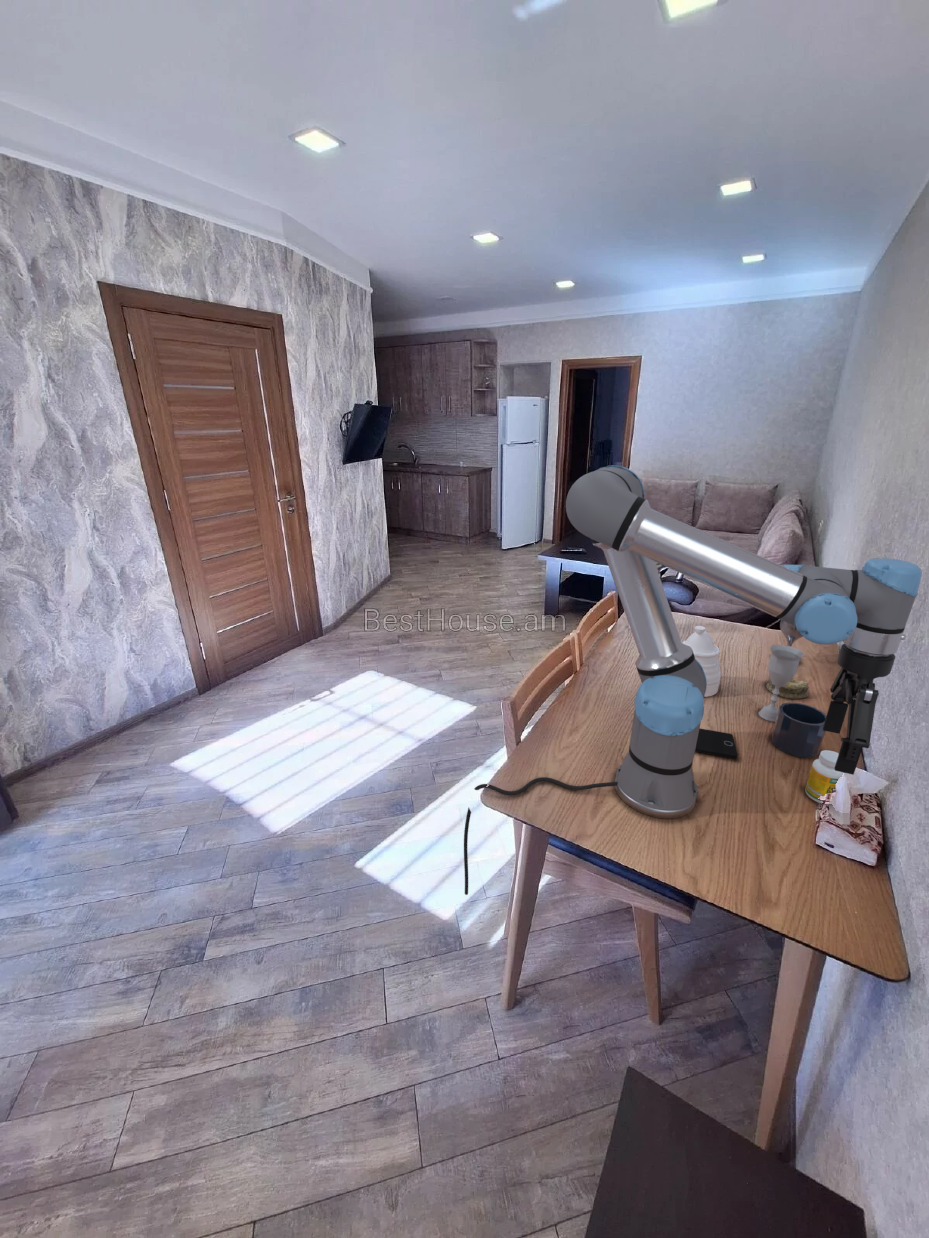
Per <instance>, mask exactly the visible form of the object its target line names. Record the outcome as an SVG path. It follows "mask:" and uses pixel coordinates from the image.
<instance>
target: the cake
mask: <svg viewBox="0 0 929 1238" xmlns="http://www.w3.org/2000/svg"><path fill="white" fill-rule="evenodd" d="M765 687H766V689H767V690H768V691H769V692H770V693H772V694H773V692H772V691H774V689H775V685H773V684H772V682H771V678H770V677H769V680H768V682H767V683H766V685H765ZM809 688H810V687H809V683H808V682H807V681H804V680H796V678H794V677H793V678H792V679H791V680H790V681H789V682H788V683H787V684H786V685H785V686H784V687H780V688H779V693H780V694H778V696H779V697H782V698H784V699H785V698H787V699H791V700H793V699H795V700H796V699H797V700H799V699H804V698H806V697H808V696H809V694H810V692H809V691H810V690H809Z"/></svg>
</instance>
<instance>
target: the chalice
mask: <svg viewBox="0 0 929 1238" xmlns="http://www.w3.org/2000/svg"><path fill="white" fill-rule="evenodd" d="M769 647H770V648H769V649H770V652H771V653H770V657H769V660H768V665H767V668H768V675H769V679H770V678H771V682H772V684H773V685H775V689H774V691H772V692H773V693H772V692H771V693H772V696H771V697H770V698H769V699H770V704H766V705H764V706H763V707H762V708H761V709H760V710H759V711H758V716H759V717H760V718H762V719H763V720H766V721H768V722H774V723H775V721H776V718H777V714H778V710H779V707H777V706H776V703H777V702H778V701H779V699H778V696H779V695H778V694H780V693H779V688H780V687H784V686H785V685H786V684H787V683H788V682H789V681H790V680H791V679H792V678H794V677H795V675H796V674H797V671H798V668H799V665H800V661H801V659H802V658H803V657H804V652H803V651H802V650H801V649H798V648H797V647H794V646H787V645H786V644H772V645H771V646H769Z"/></svg>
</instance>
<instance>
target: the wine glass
mask: <svg viewBox="0 0 929 1238" xmlns="http://www.w3.org/2000/svg"><path fill="white" fill-rule="evenodd" d="M779 629H780V631H781V633H782V635H783V636H784V637H785V639H786V642H787V643H786V644H787V646H791V647H793V644H794V643H795V642H796V641H797V640H799V639H801V638H804V637H803V636H802V635H801V634H800V632H798V630H797V629H796V627H795V626H793V625H791V624H789V623H787V622H785V621H783V620H781V619H779Z"/></svg>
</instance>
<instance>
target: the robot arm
mask: <svg viewBox="0 0 929 1238" xmlns="http://www.w3.org/2000/svg"><path fill="white" fill-rule="evenodd" d="M565 511H566V515H567V518H568V520H569V522H570V524H571V525H572V526H573V527H574V529H576V530H577V532H579V533H581V534H582V535H583V536H585V537H587V538H589V539H590V541H591V544H592V545H593V546H594V547H597V548H599V549H601V550H602V551H603V554H604V558H605V560H606V562H607V565H608V568H609V572H610V575H611V577H612V579H613V582H614V585H615V588H616V591H617V594H618V597H619V600H620V602H621V606H622V609H623V611H624V614H625V616H626V620H627V622H628V626H629V625H630V628H631V629H630V628H629V629H630V631H631V634H632V636H633V640H634V643H635V645H636V648H637V651H638V654H639V655H638V656H637V659H636V660H635V662H634V663H635V667H636V670H637V674H638V677H639V679H640V682H641V684H640V685H639V687H638V688H637V692H636V694H635V697H634V701H633V702H634V704H633V705H634V712H633V719H632V726H631V732H630V740H629V747H628V752H627V753H626V755H625V757H624V758H623V761H622V762H621V764H620V765H619V767H618V768H617V770H616V772H615V779H614V780H615V781H609V782H598V783H591V784H586V785H571V784H569V783H568V784H567V783H565V782H562V781H560V780H557V779H554V778H551V777H547V776H546V777H544V776H543V777H542V776H541V777H537V778H533V779H532V780H530V781H529V782H527V783H526V784H525V785H524V786H523V787H521V788H518V789H517V790H505V789H502V788H500V787H497V786H495V785H492V784H489V786H488V787H486V786H487V784H488V783H480V784H478V785H476V786H475V787H474V788H473V790H475V791H479V790H481V789H489V790H492V791H495V792H497V793H498V794H499V793H500V794H502V795H506V796H517V795H519V794H522V793H524V792H525V791H527V790H528V789H529V788H531V787H533V785H534V784H536V783H540V782H548V783H552V784H556V785H557V786H559V787H562V788H565V789H568V790H574V791H585V790H590V789H596V788H597V789H598V788H606V787H614V788H615V791H616V793H617V795H618V796H619V798H620V799H621V800H622V801H623V802H624V803H625V804H626V805H628V806H629V807H630V808H632V809H633V810H635V811H637V812H639V813H641V814H643V815H646V816H649V817H653V818H658V819H678V818H682V817H685V816H687V815H688V814H690V813H691V812H692V811H693V810H694V808H695V805H696V800H697V798H698V794H699V791H700V787H699V785H698V784H697V783H696V782H695V776H694V771H693V762H694V759H695V753H696V752H695V748H696V743H697V738H698V733H699V728H700V729H701V722H702V720H703V718H704V714H705V697H704V695H705V692H706V685H707V681H706V676H705V673H704V670H703V668H702V666H701V665H700V663H699V662H698V661H697V660H696V659H695V656H694V653H693V650H692V648H691V647H690V646H687V645H685V644H683V643H682V642H683V641H682V640H681V639H682V638H681V637H680V634H679V631H678V627H677V624H676V622H675V618H674V616H673V613H672V609H671V607H670V603H669V601H668V598H667V595H666V594H667V593H666V591H665V588H664V585H663V583H662V579H661V580H660V577H659V574H658V571H657V568H656V565H655V562H657V563H660V564H662V566H664V567H666V568H668V569H669V570H670V569H671V570H672V571H674V572H677V573H678V574H681V575H684V576H686V577H688V578H690V579H692V580H694V581H696V582H699V583H701V584H703V585H705V586H707V587H710V588H712V589H714V590H716V591H718V592H720V593H723V594H724V595H727V596H729V597H731V598H733V599H735V600H738V601H740V602H742V603H744V604H746V605H749V606H751V607H753V608H755V609H757V610H758V611H759V610H760V611H761V612H763V613H766V614H768V615H771V616H772V617H775V618H777V619H779V620H780V619H781V620H783V621H785V622H787V623H789V624H791V625H793V626H795V627H796V629H797V630H798V632H800V634H801V635H802V636H803V637H802V638H804V639H805V640H807V641H809V642H811V643H813V644H816V645H825V646H827V645H834V644H837V643H841V642H843V644H841V646H840V649H839V653H838V657H837V664H838V666H839V667H840V669H839V671H838V674H837V675H836V677H835V679H834V681H833V683H832V685H831V687H830V689H829V691H830V693H831V694H830V698H831V700H830V703H829V706H828V709H827V713H826V715H827V716H826V719H825V723H824V726H823V731H826V732H829V733H834V734H838V735H840V734H841V731H842V728H843V725H844V724H843V723H844V721H845V717H846V714H847V724H846V725H847V726H846V737H844V736H843V737H840V742H841V745H840V749H839V752H838V753H839V755H838V758H837V761H836V765H835V768H834V769H835V771H839V772H843V773H846V774H848V775H853V776H854V775H855V772H856V769H857V765H858V764H859V763H858V762H859V760H860V757H861V754H862V750H863V748H864V749H869V748H870V746H871V744H870V743H871V737H872V730H873V724H874V717H875V711H876V704H877V701H878V697H879V695H880V693H879V690H878V689H876V683H875V682H874V680H875V679H877V678H884V677H888V676H889V675H890V674H891V672H892V669H893V666H894V664H895V660H896V655H895V654H896V653H897V652H898V651H899V650H898V649H899V647H900V645H901V643H900V642H901V641H905V640H906V638H907V636H906V634H904V632H905V629H906V625H907V623H908V620H909V617H910V615H911V611H912V609H913V605H915V601H916V598H917V596H918V595H919V587H920V584H921V579H922V575H923V572H922V569H921V568H920V567H919V565H917V563H912V562H910V561H906V560H902V559H895V558H886V557H884V558H883V557H882V558H876V557H875V558H874V557H873V558H870V559H867V560H866V562H865V563H864V565H863V567H861V569H845V568H836V567H835V568H834V567H825V566H815V565H807V564H805V563H803V564H784V565H782V564H779V563H777V562H775V561H773V560H770V559H768V558H765V557H763V556H762V555H758V554H756V553H754V552H752V551H750V550H748V549H745V548H742V547H740V546H738V545H735V544H734V543H731V542H729V541H727V540H724V539H723V538H720V537H718V536H715V535H712V534H710V533H708V532H706V531H704V530H701V529H698V528H696V527H694V526H692V525H689V524H687V523H685V522H683V521H680V520H678V519H676V518H673V517H671V516H669V515H667V514H664V513H662V512H660V511H657V510H655V509H653V508H652V507H651V505H650V502H649V500H648V499H646V498H645V487H644V484H643V482H642V480H641V478H640V477H639V476H638V475H637V473H635V472H634V471H633V470H631V469H630V468H627V467H625V466H621V465H613V464H612V465H607V466H602V467H599V468H598V469H596V470H594V471H591V472H588V473H586V474H583V475H582V476H580V477H579V478H578V479H577V480H575V482H574V483H572V484H571V487H570V489H569V491H568V493H567V496H566V499H565ZM654 561H655V562H654ZM847 711H848V713H847ZM471 814H472V811H471V809H470V807H469V806H468V808H467V812H466V818H465V821H464V822H465V823H464V831H463V833H464V834H463V864H464V865H463V866H464V867H463V868H464V869H463V870H464V895H465V896H468V895H469V859H468V856H469V855H468V839H469V838H468V837H469V827H470V820H471Z"/></svg>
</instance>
